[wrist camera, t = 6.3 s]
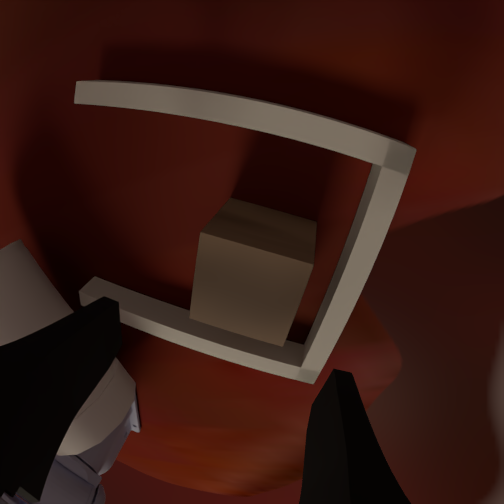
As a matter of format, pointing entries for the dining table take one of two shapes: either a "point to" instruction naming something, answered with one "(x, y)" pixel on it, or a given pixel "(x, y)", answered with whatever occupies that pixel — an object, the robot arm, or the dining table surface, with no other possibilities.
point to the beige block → (252, 270)
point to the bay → (353, 255)
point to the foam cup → (41, 315)
